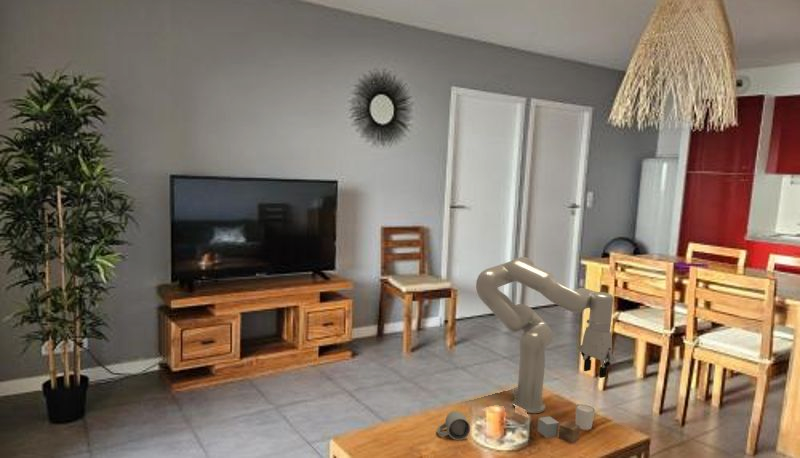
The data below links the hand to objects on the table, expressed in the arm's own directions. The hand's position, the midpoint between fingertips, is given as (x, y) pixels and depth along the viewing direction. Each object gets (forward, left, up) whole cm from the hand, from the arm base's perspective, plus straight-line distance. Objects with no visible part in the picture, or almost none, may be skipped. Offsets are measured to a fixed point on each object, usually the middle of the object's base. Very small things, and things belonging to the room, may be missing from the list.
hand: (594, 373), depth 199 cm
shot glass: (0, -4, -20) cm, 20 cm away
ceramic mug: (-16, -52, -20) cm, 58 cm away
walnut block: (+4, -16, -20) cm, 26 cm away
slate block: (-2, -20, -20) cm, 28 cm away
